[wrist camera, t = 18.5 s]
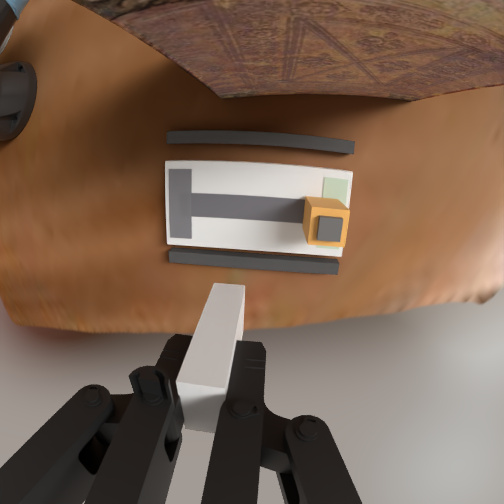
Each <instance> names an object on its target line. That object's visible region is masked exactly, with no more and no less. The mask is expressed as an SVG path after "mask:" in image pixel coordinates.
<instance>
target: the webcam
mask: <svg viewBox="0 0 504 504" xmlns="http://www.w3.org/2000/svg"><path fill="white" fill-rule="evenodd" d="M13 27H14V25H13ZM13 27H12V28H11V30H10V32H9V33H8V35H7V37H6V38H5V40H4V42H3V44H2V45H1V47H0V54H1V53H2V51H3V49H4V48H5V46H6V44H7V42H8V40H9V38H10V36H11V33H12V30H13Z"/></svg>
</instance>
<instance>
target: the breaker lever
mask: <svg viewBox="0 0 504 504" xmlns="http://www.w3.org/2000/svg"><path fill="white" fill-rule="evenodd" d="M349 215H350V210H349V209H348V208H347V207H346V206H345V205H344V204H343V203H341V202H340V201H339V200H338V199H332V198H322V197H311V196H305V206H304V216H303V226H302V229H303V232H304V235H305V238H306V241H307V244H308V245H320V246H333V247H345V242H346V235H347V229H348V222H349Z"/></svg>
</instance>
